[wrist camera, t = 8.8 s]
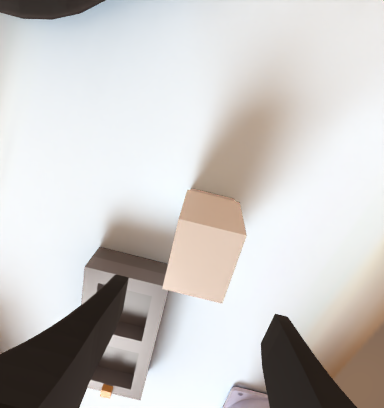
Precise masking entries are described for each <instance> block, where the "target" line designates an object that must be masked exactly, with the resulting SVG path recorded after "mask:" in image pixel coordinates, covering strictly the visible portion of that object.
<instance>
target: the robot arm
mask: <svg viewBox="0 0 384 408" xmlns="http://www.w3.org/2000/svg"><path fill="white" fill-rule="evenodd" d="M128 280H129V277H125V276H121V275H117V274H116V275H114V276H113V277H112V278H111V279H110V280H109V281H108V282H107V283H106V284H105V285H104V286H103V287H102V288H101V289H100V290H99V291H97V292H96V293H95V294H94V295H93V296H92V297H90V298H89V299H88V300H87V301H86V302H85V303H83V304H82V305H81V306H79V307H78V308H77V309H75V310H74V311H73V312H72V313H70V314H69V315H68V316H66V317H65V318H63V319H62V320H60V321H59V322H57V323H56V324H54V325H53V326H51V327H50V328H48V329H46V330H45V331H43V332H41V333H40V334H38V335H36V336H35V337H33V338H31V339H29V340H28V341H26V342H24V343H22V344H20V345H18V346H16V347H14V348H12V349H10V350H8V351H6V352H4V353H2V354H0V408H79V407H80V404H81V402H82V399H83V397H84V394H85V392H86V389H87V387H88V385H89V382H90V380H91V378H92V376H93V374H94V372H95V370H96V368H97V366H98V364H99V362H100V360H101V358H102V356H103V354H104V352H105V350H106V348H107V346H108V344H109V342H110V340H111V338H112V336H113V334H114V332H115V330H116V327H117V325H118V322H119V319H120V317H121V314H122V311H123V308H124V302H125V296H126V291H127V285H128ZM261 356H262V368H263V373H264V379H265V385H266V390H267V394H264V393H260V392H256V391H251V390H247V389H243V388H239V387H233V388H232V389H231V391H230V393H229V395H228V397H227V399H226V402H225V404H224V406H223V408H357V407H356V406H355V405H354V404H353V403H352V401H351V400H350V399H349V398H348V397H347V396H346V395H345V393H344V392H343V391H342V390H341V389H340V388H339V387H338V385H337V384H336V383H335V382H334V380H333V379H332V378H331V377H330V375H329V374H328V373H327V371H326V370H325V369H324V368H323V366H322V365H321V364H320V362H319V361H318V360H317V358H316V357H315V355H314V354H313V353H312V351H311V350H310V348H309V347H308V346H307V344H306V343H305V341H304V340H303V338H302V337H301V336H300V334H299V333H298V331H297V330H296V328H295V327H294V325H293V324H292V322H291V321H290V320H289V318H288V317H286V316H282V315H278V314H275V315H274V317H273V319H272V321H271V324H270V326H269V328H268V330H267V332H266V334H265V336H264V338H263V340H262V342H261Z"/></svg>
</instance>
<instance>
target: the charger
mask: <svg viewBox="0 0 384 408" xmlns="http://www.w3.org/2000/svg"><path fill="white" fill-rule="evenodd" d="M246 236H247V235H246V230H245V225H244V220H243V216H242V211H241V206H240V202H236V201H235V200H234V199H233V198H229V197H225V196H221V195H217V194H213V193H209V192H205V191H201V190H196V189H192V188H191V189H190V190H187V193H186V196H185V199H184V203H183V206H182V210H181V213H180V216H179V220H178V224H177V228H176V233H175V237H174V241H173V245H172V249H171V254H170V258H169V262H168V266H167V271H166V275H165V279H164V283H163V288H162V289H165V290H169V291H173V292H177V293H181V294H185V295H189V296H193V297H198V298H202V299H206V300H210V301H214V302H218V303H223V300H224V297H225V294H226V292H227V289H228V286H229V283H230V280H231V278H232V275H233V272H234V269H235V267H236V264H237V261H238V258H239V255H240V253H241V250H242V247H243V244H244V242H245V239H246Z"/></svg>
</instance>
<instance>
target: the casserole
mask: <svg viewBox="0 0 384 408" xmlns="http://www.w3.org/2000/svg"><path fill="white" fill-rule="evenodd" d="M103 1H105V0H0V12H1V13H4V14H8V15H12V16H15V17H19V18H23V19H56V18H61V17H66V16H70V15H75V14H80V13H82V12H84V11H86V10H88V9H90V8H92V7H94V6H95V5H97V4H99V3H101V2H103Z"/></svg>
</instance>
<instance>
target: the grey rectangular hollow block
mask: <svg viewBox="0 0 384 408" xmlns="http://www.w3.org/2000/svg"><path fill="white" fill-rule="evenodd" d="M167 266H168V264H166V263H162V262H158V261H154V260H150V259H146V258H142V257H138V256H134V255H130V254H126V253H122V252H118V251H114V250H110V249H106V248H102V247H99V248H98V250H97V251H96V252H95V254H94V255H93V256H92V258H91V259H90V260H89V262H88V263H87V264H86V266H85V269H84V280H83V290H82V301H81V305H82V304H83V303H85V302H86V301H87V300H88V299H89V298H90V297H92V296H93V295H94V294H95V293H96V292H97V291H99V290H100V289H101V288H102V287H103V286H104V285H105V284H106V283H107V282H108V281H109V280H110V279H111V278H112V277H113V276H114V275H116V274H117V275H121V276H125V277H129V280H128V285H127V291H126V296H125V302H124V308H123V311H122V314H121V317H120V319H119V322H118V325H117V327H116V330H115V332H114V334H113V336H112V338H111V340H110V342H109V344H108V346H107V348H106V350H105V352H104V354H103V356H102V358H101V360H100V362H99V364H98V366H97V368H96V370H95V372H94V374H93V376H92V378H91V380H90V382H89V385H88V387H87V388H91V389H96V390H100V391H101V394H100V396H101V397H105V398H109V399H110V397H111V394H116V395H120V396H124V397H129V398H133V399H137V400H141V396H142V392H143V388H144V384H145V380H146V376H147V372H148V368H149V364H150V361H151V357H152V353H153V349H154V345H155V341H156V337H157V333H158V329H159V326H160V322H161V318H162V314H163V310H164V306H165V302H166V298H167V294H168V290H165V289H162V288H163V283H164V279H165V275H166V271H167Z"/></svg>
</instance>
